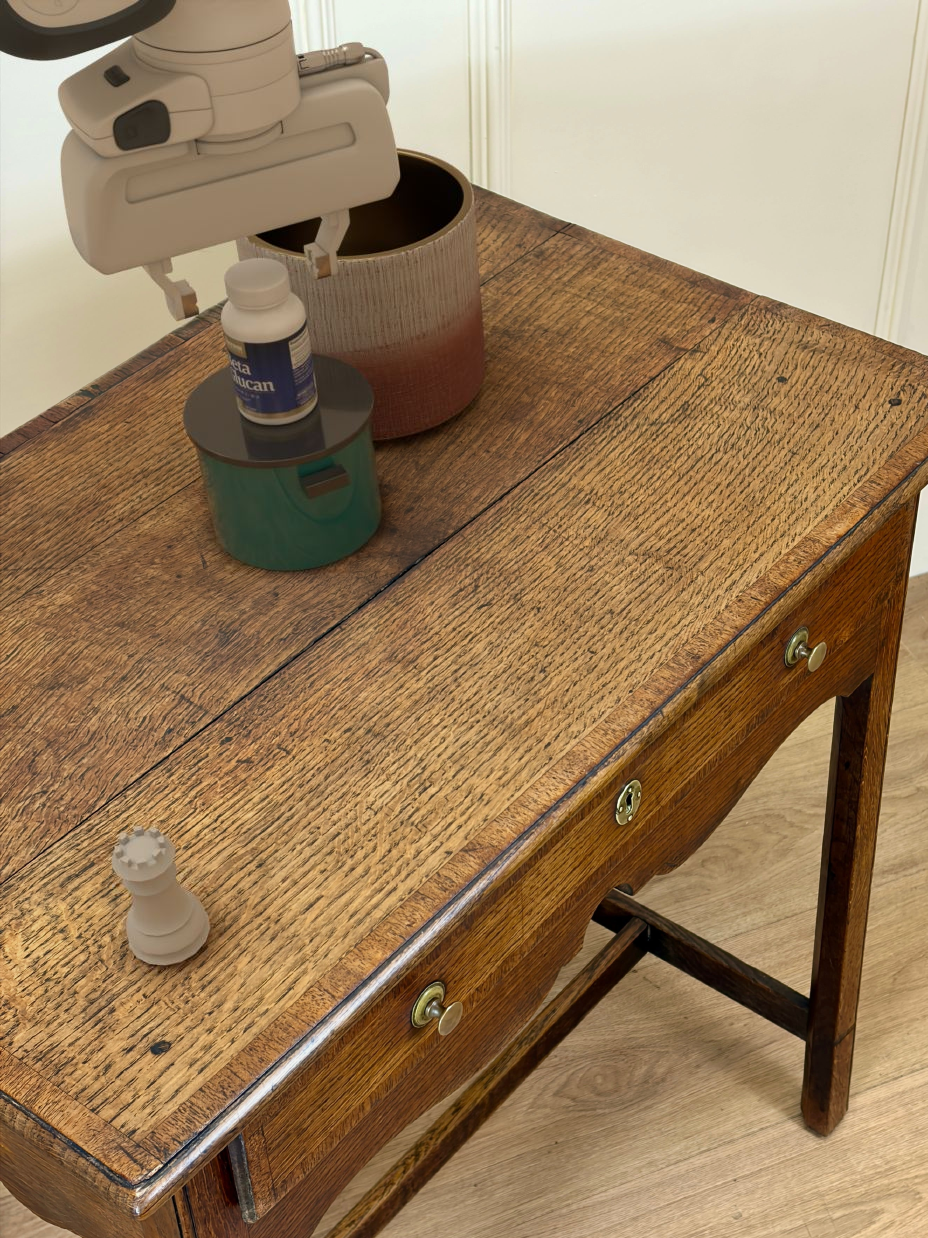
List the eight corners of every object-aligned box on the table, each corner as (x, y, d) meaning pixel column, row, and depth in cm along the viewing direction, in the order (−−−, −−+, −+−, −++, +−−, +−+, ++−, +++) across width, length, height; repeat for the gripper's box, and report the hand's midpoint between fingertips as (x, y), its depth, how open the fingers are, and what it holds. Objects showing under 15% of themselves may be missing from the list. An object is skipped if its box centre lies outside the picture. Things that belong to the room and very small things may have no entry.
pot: (256, 606, 100) (231, 493, 93) (177, 492, 109) (150, 380, 102) (424, 542, 104) (413, 428, 97) (335, 437, 113) (319, 326, 106)
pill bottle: (224, 420, 99) (196, 288, 92) (259, 376, 102) (235, 246, 95) (297, 434, 97) (275, 301, 90) (331, 389, 101) (312, 258, 94)
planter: (320, 311, 126) (294, 130, 115) (517, 345, 121) (510, 160, 110) (223, 428, 114) (183, 240, 103) (436, 470, 110) (419, 278, 99)
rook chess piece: (134, 906, 83) (100, 813, 77) (215, 900, 83) (187, 807, 77) (125, 973, 80) (89, 882, 74) (208, 967, 80) (179, 875, 74)
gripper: (361, 17, 89) (380, 230, 99) (28, 93, 82) (84, 315, 92) (408, 53, 85) (423, 271, 95) (64, 136, 78) (118, 362, 88)
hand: (254, 293), depth 94 cm, fingers open, 8 cm apart
